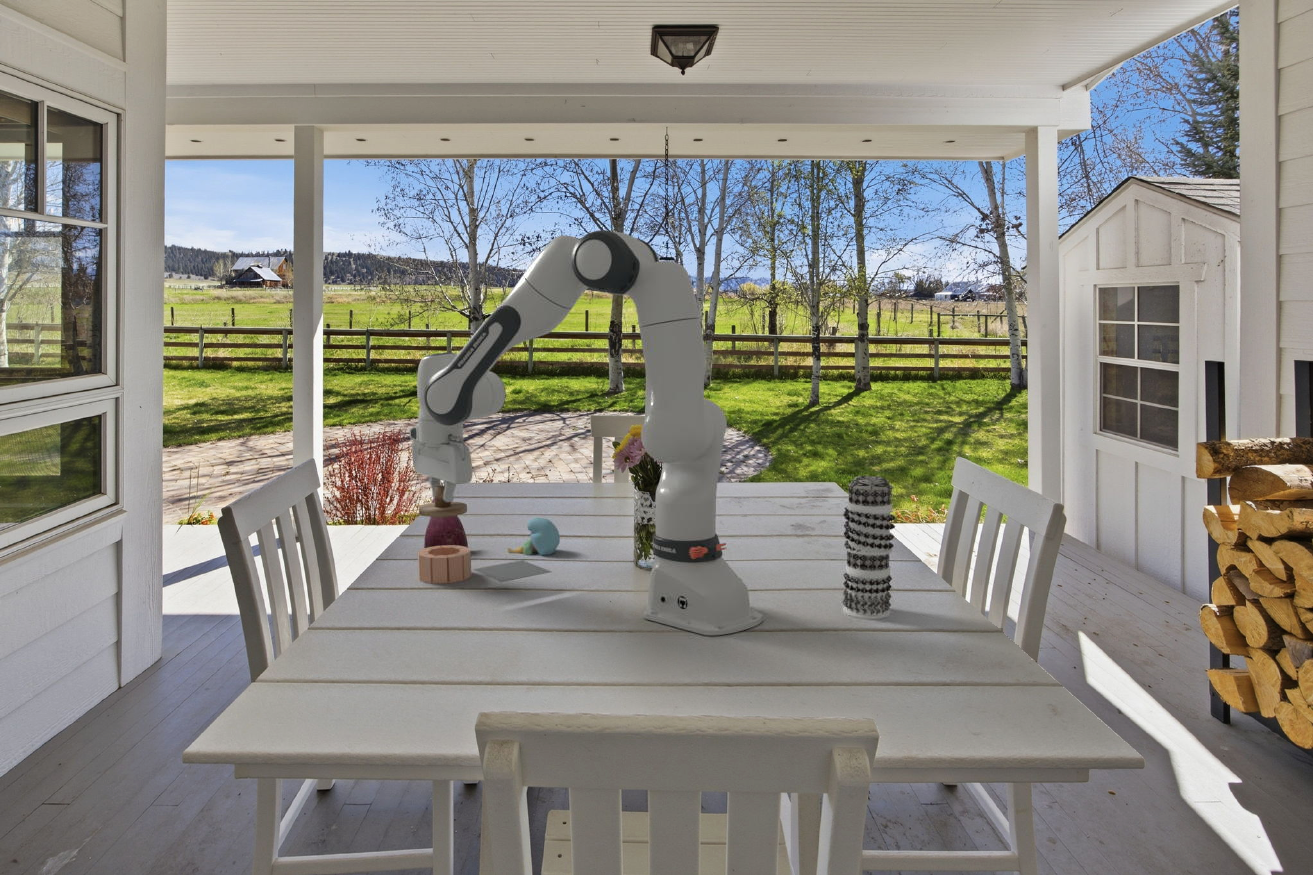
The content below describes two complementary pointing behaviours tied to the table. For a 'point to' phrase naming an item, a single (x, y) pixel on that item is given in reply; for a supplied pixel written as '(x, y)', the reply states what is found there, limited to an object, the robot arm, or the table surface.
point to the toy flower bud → (540, 538)
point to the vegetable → (445, 532)
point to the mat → (512, 570)
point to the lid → (442, 506)
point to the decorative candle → (868, 548)
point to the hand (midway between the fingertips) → (442, 499)
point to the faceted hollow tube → (444, 564)
